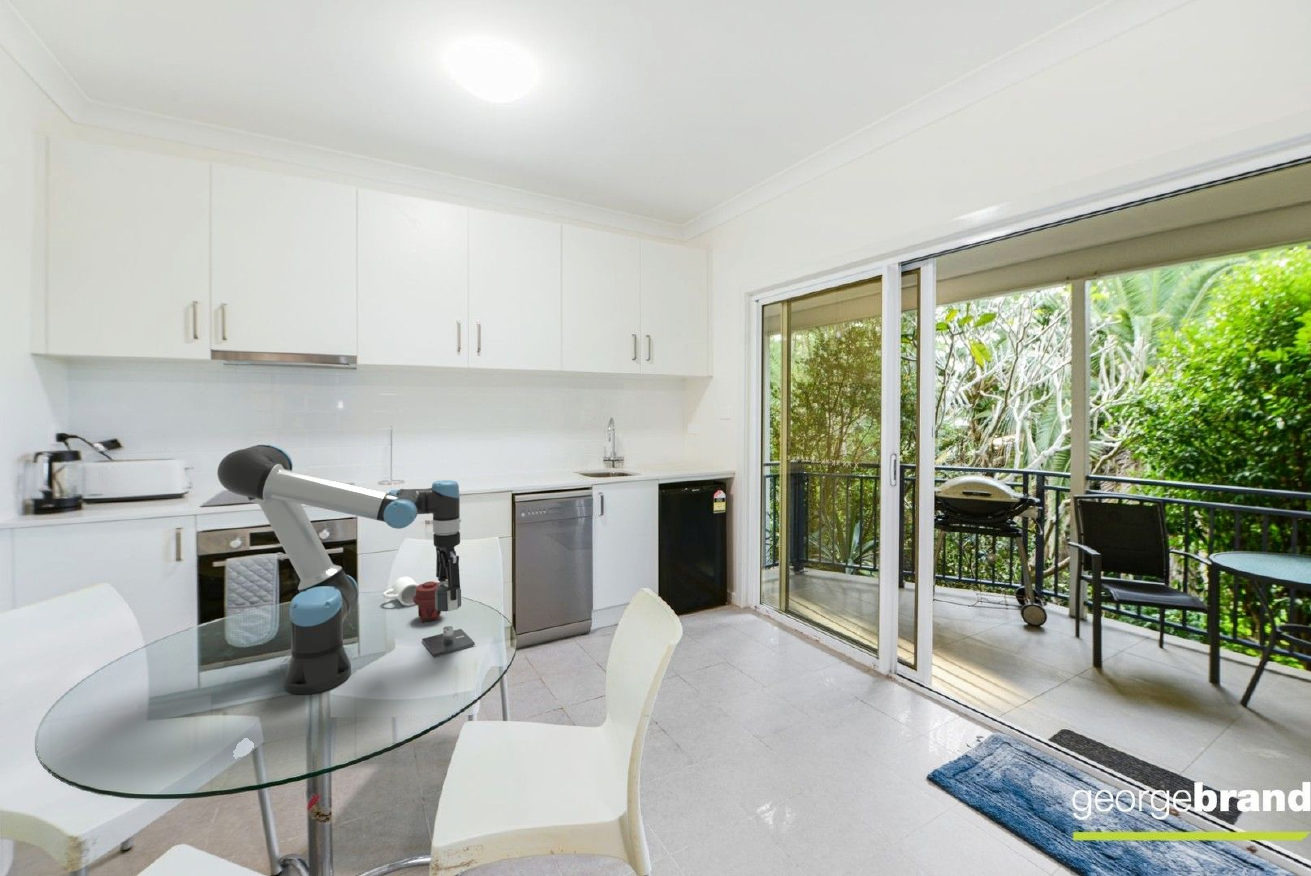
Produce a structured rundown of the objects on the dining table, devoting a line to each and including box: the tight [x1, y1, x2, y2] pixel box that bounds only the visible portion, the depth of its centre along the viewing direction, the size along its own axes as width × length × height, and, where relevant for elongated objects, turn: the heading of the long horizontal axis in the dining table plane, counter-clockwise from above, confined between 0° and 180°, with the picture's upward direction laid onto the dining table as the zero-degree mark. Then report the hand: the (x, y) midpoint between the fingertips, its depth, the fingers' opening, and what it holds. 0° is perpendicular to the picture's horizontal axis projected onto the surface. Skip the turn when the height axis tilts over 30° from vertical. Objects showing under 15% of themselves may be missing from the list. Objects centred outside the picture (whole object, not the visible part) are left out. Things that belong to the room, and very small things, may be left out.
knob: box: [435, 584, 462, 612], centre depth 164 cm, size 7×7×6 cm
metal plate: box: [421, 625, 476, 658], centre depth 165 cm, size 12×12×5 cm
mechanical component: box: [413, 581, 442, 623], centre depth 183 cm, size 12×10×10 cm
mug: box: [382, 576, 420, 607], centre depth 196 cm, size 12×10×8 cm
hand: (448, 605), depth 165 cm, fingers closed on knob, 7 cm apart
